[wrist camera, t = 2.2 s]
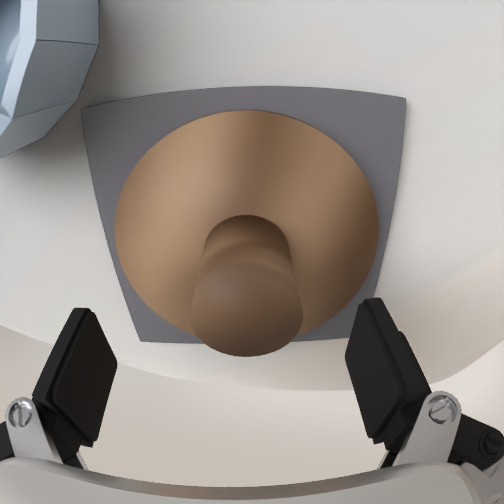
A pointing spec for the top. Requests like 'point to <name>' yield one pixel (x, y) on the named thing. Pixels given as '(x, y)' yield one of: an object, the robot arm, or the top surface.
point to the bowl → (42, 64)
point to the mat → (248, 98)
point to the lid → (246, 229)
